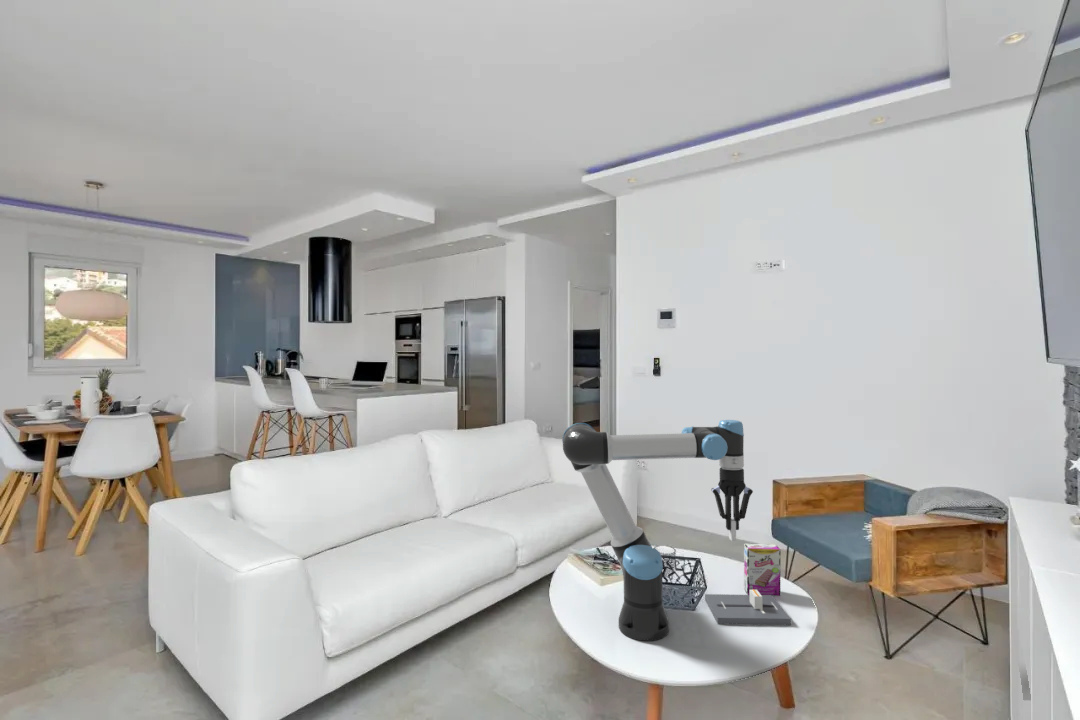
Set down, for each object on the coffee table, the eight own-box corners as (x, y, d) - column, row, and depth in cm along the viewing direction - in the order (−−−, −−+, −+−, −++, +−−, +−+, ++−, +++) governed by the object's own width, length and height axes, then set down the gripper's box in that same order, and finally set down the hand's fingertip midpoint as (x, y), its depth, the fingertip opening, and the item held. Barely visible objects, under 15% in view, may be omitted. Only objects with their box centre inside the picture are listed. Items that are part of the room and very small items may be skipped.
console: (717, 624, 163) (717, 617, 163) (705, 600, 179) (704, 593, 179) (791, 625, 162) (791, 618, 162) (771, 600, 178) (771, 594, 178)
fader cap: (754, 609, 168) (754, 596, 168) (749, 601, 173) (749, 589, 173) (762, 609, 168) (762, 596, 168) (757, 601, 173) (756, 589, 173)
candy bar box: (747, 595, 182) (747, 548, 182) (743, 589, 187) (743, 543, 187) (781, 596, 181) (781, 548, 181) (776, 590, 186) (775, 543, 186)
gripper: (714, 470, 170) (715, 543, 170) (755, 470, 169) (756, 543, 169) (708, 465, 178) (709, 535, 178) (748, 465, 177) (749, 535, 177)
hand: (732, 539), depth 174 cm, fingers closed
